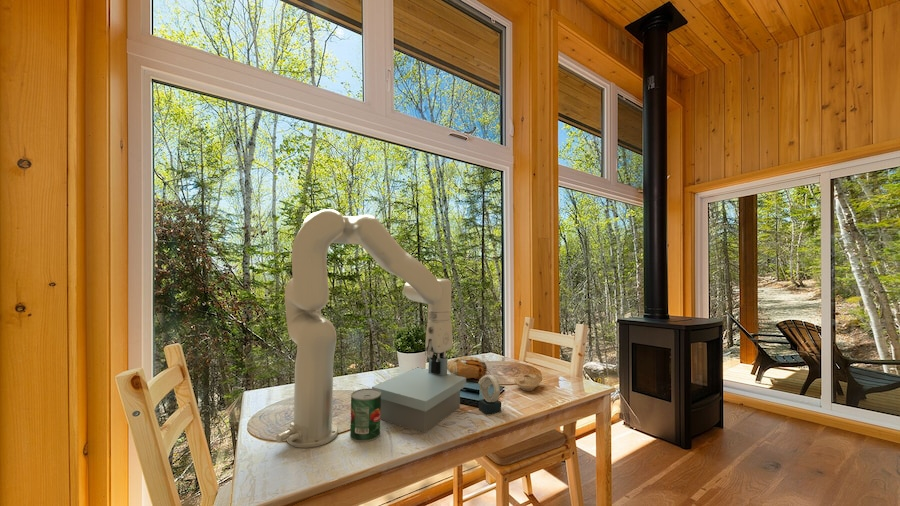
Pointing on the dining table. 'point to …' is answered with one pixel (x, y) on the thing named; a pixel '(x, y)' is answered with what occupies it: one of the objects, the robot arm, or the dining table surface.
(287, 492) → the dining table surface
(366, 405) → the canned tomato
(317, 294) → the robot arm
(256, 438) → the dining table surface
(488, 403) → the stone ring on base
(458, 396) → the tub
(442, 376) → the lid
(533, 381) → the pottery oil lamp
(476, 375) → the bread loaf
